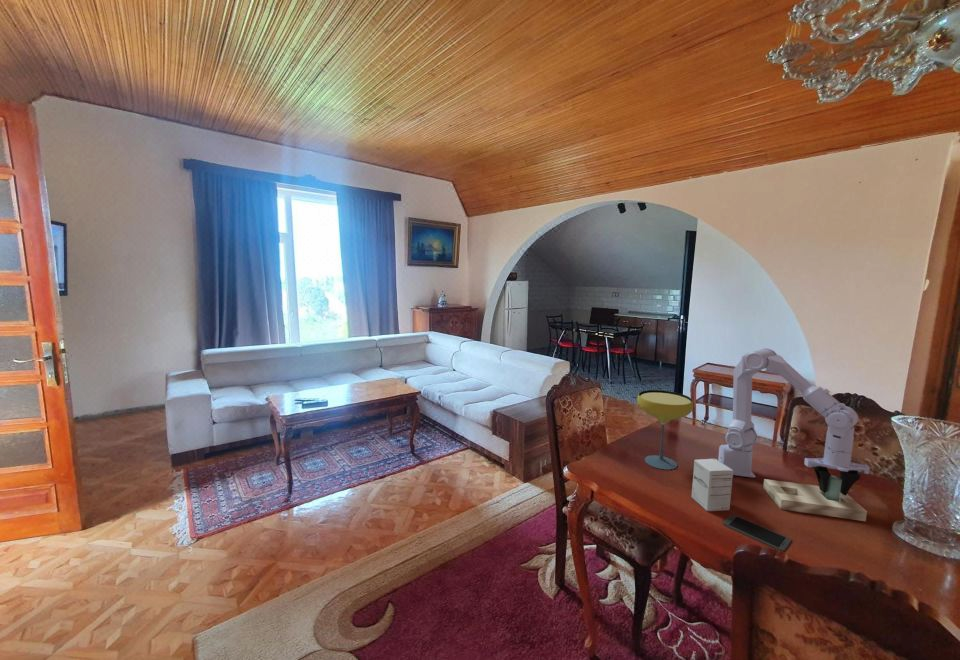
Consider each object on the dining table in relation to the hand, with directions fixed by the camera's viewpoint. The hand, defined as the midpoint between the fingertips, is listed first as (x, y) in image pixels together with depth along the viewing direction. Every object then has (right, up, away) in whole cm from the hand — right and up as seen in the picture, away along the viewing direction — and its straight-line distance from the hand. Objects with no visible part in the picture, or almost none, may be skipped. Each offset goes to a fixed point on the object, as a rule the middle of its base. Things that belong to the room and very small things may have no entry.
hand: (832, 492), depth 112 cm
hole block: (-5, -4, +2) cm, 7 cm away
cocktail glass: (-38, -1, +28) cm, 47 cm away
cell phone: (-31, -7, -11) cm, 33 cm away
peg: (0, -4, +1) cm, 4 cm away
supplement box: (-35, -5, +2) cm, 35 cm away
